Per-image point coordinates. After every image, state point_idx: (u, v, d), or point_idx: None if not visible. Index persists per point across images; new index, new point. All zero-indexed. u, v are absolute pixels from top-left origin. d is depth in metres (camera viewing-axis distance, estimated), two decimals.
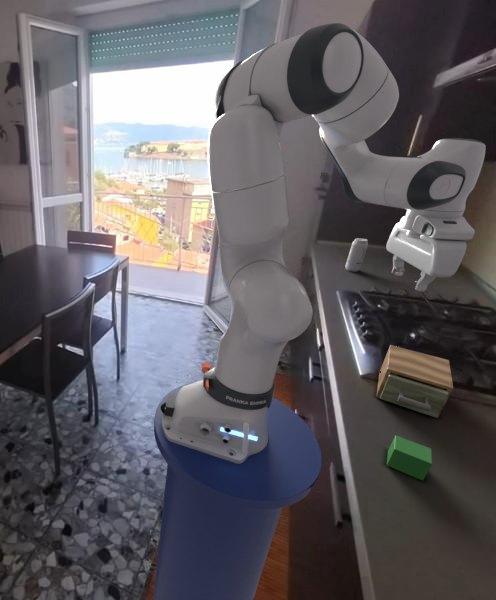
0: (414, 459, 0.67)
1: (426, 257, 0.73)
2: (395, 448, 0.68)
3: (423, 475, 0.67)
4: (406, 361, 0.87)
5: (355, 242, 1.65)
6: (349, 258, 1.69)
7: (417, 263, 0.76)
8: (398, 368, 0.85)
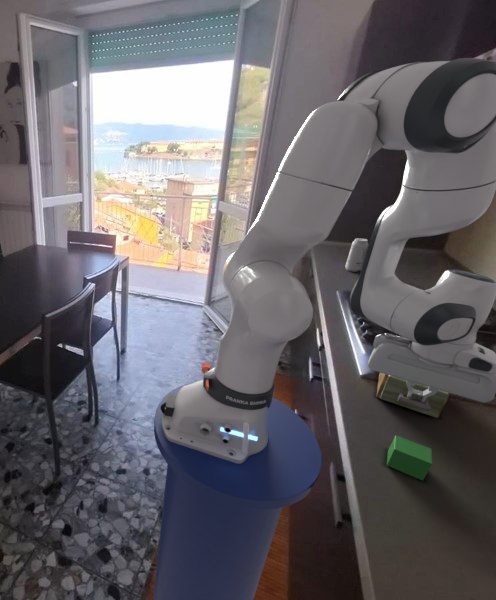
0: (414, 459, 0.67)
1: (469, 385, 0.71)
2: (395, 448, 0.68)
3: (423, 475, 0.67)
4: None
5: (355, 242, 1.65)
6: (349, 258, 1.69)
7: (452, 389, 0.73)
8: None
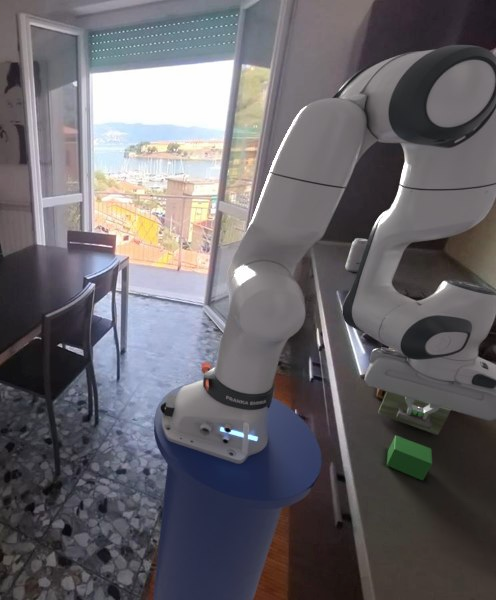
0: (414, 459, 0.67)
1: (472, 403, 0.67)
2: (395, 448, 0.68)
3: (423, 475, 0.67)
4: None
5: (355, 242, 1.65)
6: (349, 258, 1.69)
7: (454, 406, 0.68)
8: None
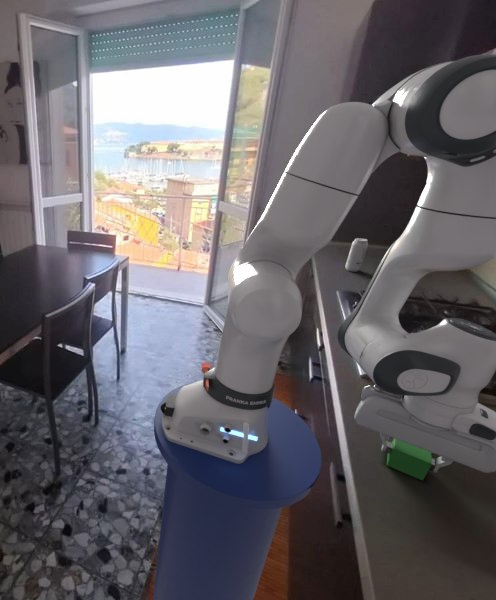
0: (414, 459, 0.67)
1: (469, 452, 0.61)
2: (395, 448, 0.68)
3: (423, 475, 0.67)
4: None
5: (355, 242, 1.65)
6: (349, 258, 1.69)
7: (449, 455, 0.63)
8: None
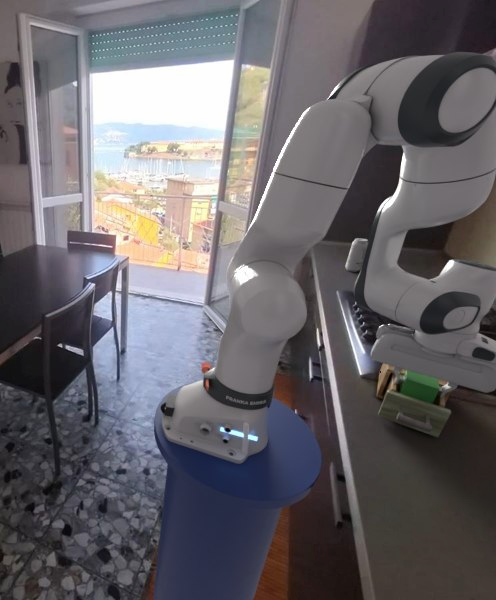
0: (424, 387, 0.76)
1: (472, 375, 0.71)
2: (407, 378, 0.78)
3: (431, 400, 0.76)
4: None
5: (355, 242, 1.65)
6: (349, 258, 1.69)
7: (455, 379, 0.73)
8: None
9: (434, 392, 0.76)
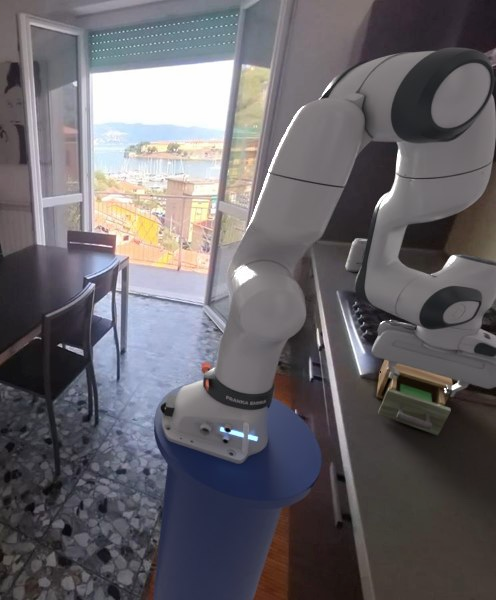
0: None
1: (474, 371, 0.71)
2: None
3: None
4: None
5: (355, 242, 1.65)
6: (349, 258, 1.69)
7: (456, 375, 0.73)
8: (398, 368, 0.85)
9: None
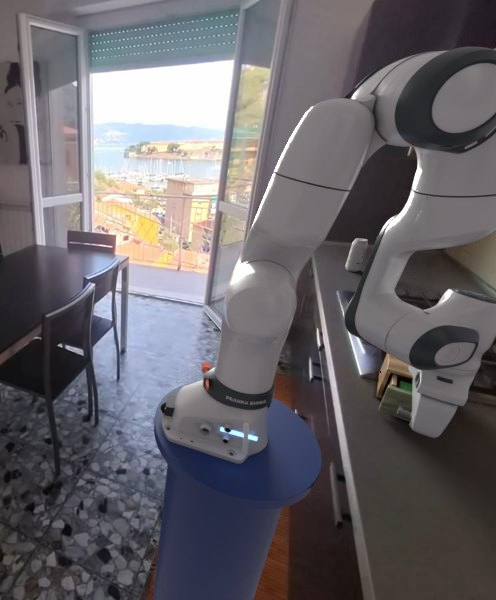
0: None
1: None
2: None
3: None
4: None
5: (355, 242, 1.65)
6: (349, 258, 1.69)
7: (412, 410, 0.69)
8: (398, 368, 0.85)
9: None
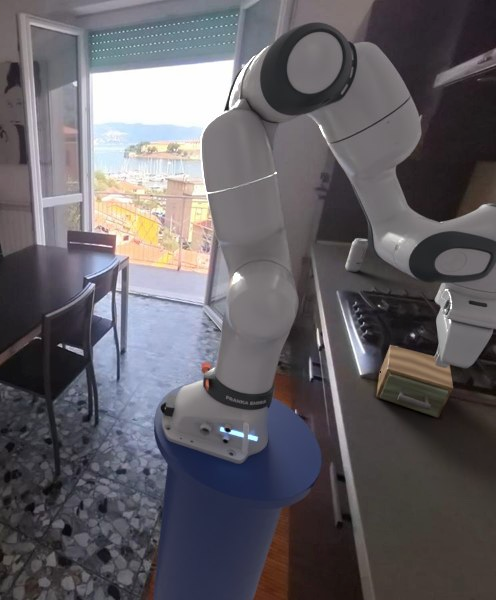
0: None
1: None
2: None
3: None
4: (406, 361, 0.87)
5: (355, 242, 1.65)
6: (349, 258, 1.69)
7: (440, 344, 0.64)
8: (398, 368, 0.85)
9: None
